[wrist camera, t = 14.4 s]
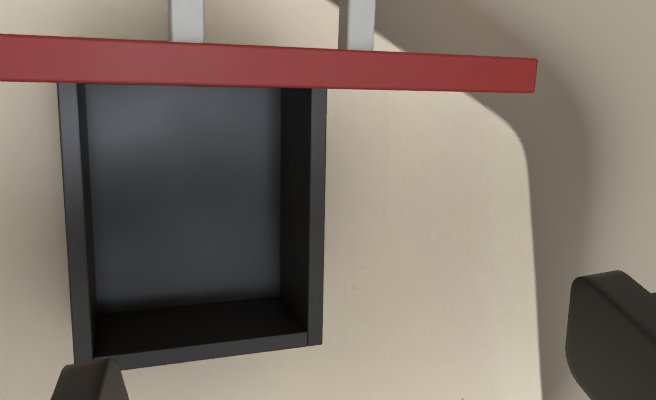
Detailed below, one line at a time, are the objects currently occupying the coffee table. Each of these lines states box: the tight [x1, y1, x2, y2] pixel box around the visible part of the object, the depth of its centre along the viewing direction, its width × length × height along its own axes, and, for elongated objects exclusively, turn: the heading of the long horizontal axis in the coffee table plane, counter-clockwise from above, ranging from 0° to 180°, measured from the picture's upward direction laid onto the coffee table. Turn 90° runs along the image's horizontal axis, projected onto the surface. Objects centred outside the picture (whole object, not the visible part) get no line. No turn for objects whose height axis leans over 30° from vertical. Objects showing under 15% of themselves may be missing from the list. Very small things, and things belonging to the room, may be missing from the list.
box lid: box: [0, 0, 538, 93], centre depth 18 cm, size 14×12×5 cm
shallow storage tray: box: [57, 83, 327, 370], centre depth 30 cm, size 14×12×6 cm
